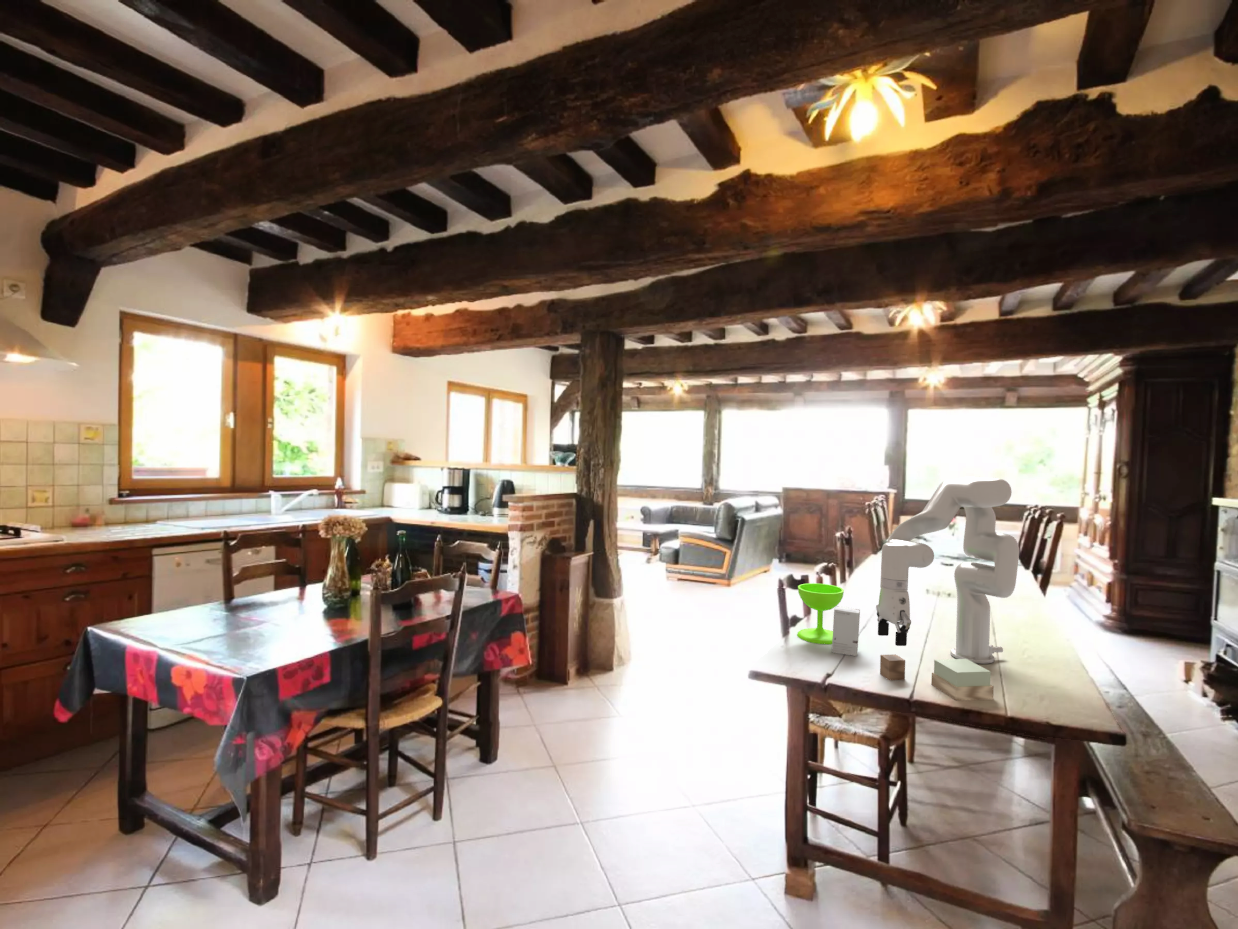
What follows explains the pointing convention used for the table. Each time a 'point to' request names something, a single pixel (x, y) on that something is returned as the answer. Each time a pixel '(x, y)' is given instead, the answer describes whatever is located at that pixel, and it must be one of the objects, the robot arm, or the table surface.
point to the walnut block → (892, 667)
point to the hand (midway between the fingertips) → (891, 640)
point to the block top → (962, 672)
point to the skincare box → (845, 630)
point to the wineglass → (819, 609)
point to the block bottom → (962, 690)
